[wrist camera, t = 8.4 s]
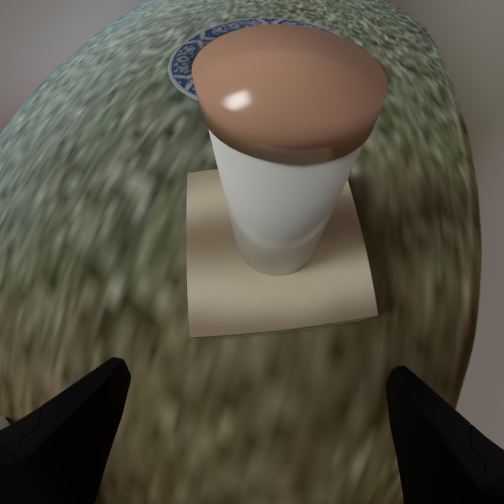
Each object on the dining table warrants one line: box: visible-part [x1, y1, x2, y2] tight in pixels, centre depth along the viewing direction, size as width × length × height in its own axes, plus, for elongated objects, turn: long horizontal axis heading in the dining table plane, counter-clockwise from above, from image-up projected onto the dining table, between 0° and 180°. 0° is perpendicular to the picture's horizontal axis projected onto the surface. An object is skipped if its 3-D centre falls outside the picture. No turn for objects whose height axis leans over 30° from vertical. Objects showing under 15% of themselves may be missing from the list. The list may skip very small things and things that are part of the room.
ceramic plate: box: [168, 18, 344, 101], centre depth 29 cm, size 26×26×3 cm
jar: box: [192, 24, 388, 276], centre depth 12 cm, size 5×5×13 cm
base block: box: [186, 169, 378, 339], centre depth 20 cm, size 12×12×3 cm
